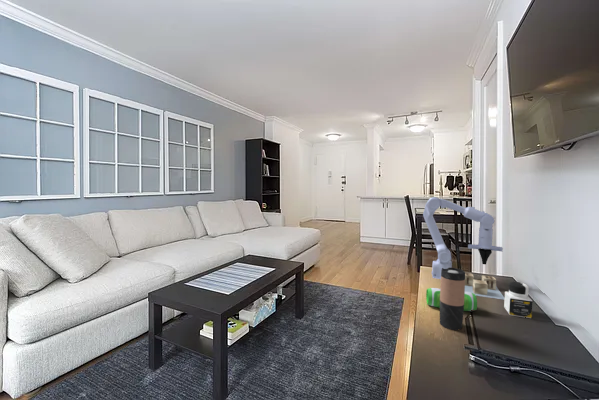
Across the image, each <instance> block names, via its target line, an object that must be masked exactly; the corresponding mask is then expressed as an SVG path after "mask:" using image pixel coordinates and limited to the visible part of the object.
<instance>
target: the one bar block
mask: <svg viewBox="0 0 599 400" xmlns="http://www.w3.org/2000/svg"><path fill="white" fill-rule="evenodd" d="M473 279H474V280H475V276H474V274H473V273H470V272H469V273H468V272H465V286H473Z"/></svg>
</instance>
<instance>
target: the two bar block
mask: <svg viewBox="0 0 599 400" xmlns="http://www.w3.org/2000/svg"><path fill="white" fill-rule="evenodd" d="M481 280H482V281H486V282H487V284H488V289H490V290H496V287H497V279H496V278H495V277H494V276H491V275H490V276H489V275H481Z"/></svg>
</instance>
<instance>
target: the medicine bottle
mask: <svg viewBox="0 0 599 400" xmlns="http://www.w3.org/2000/svg"><path fill="white" fill-rule="evenodd" d="M508 284H509V285H508V291H504V298H505V299H504V301H503V302H504V304H503V308H504V309H505V310H506V312H507V314H508V315H509V316H512V317H520V318H525V317H526V318H525V319H532V317H533V300H532V299H531V297H529V288H530V287H529V285H527V284H525V283H524V282H519V281H511V282H509V283H508Z"/></svg>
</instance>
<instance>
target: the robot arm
mask: <svg viewBox="0 0 599 400" xmlns="http://www.w3.org/2000/svg"><path fill="white" fill-rule="evenodd" d="M439 208H440V209H445V208H447V209H451V210H453V211H456V212H458V213H461V214H462V215H463V217H464V218H467V219H470V220H471V221H473V222H476V223H479V228H478V244H471V243H469V244H467V248H468V249H470V250H471V249H473V250H478V253H479V255H480V258H481V263H482V265H487V262H488V259H489V258H490V256H491V254H492V253H493V251H494V252H503V249H504V248H503V247H502V246H496V245H493V233H494V232H493V231H494V229H493V227H494V224H495V218H494V216H493V215H491V214H489V213H487V212H486V211H484V210H479V209H476V207H474V206H467V207H464V206H461V205H459V204H457V203H454V202H453V201H450V200H447V199H444V198H439V197H437V196H432V197H430V198H429V199H428V200H427V202H426V203H425V205H424V209H423V213H422V217H423V218H424V222H425V224H426V226H427V227H426V228H427V229H428V231H429V233H430V236H431V238H432V241H433V243H434V245H435V248H436V251H437V259H436V260H433V261H432V265H431V267H432V270H431V276H432V279H436V280H437V279H439V280H441V269H442V268H443V269H448V268H453V267H452V265H453V264H452V263H453V261H452V253H451V251H450V249H449V248H448V247H447V245H446V243H445V241H444V239H443V237H442V234H441V232H440V229H439V228H438V225H437V222H436V220H435V218H434V214H435V212H436V211H437V210H438V209H439Z"/></svg>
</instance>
